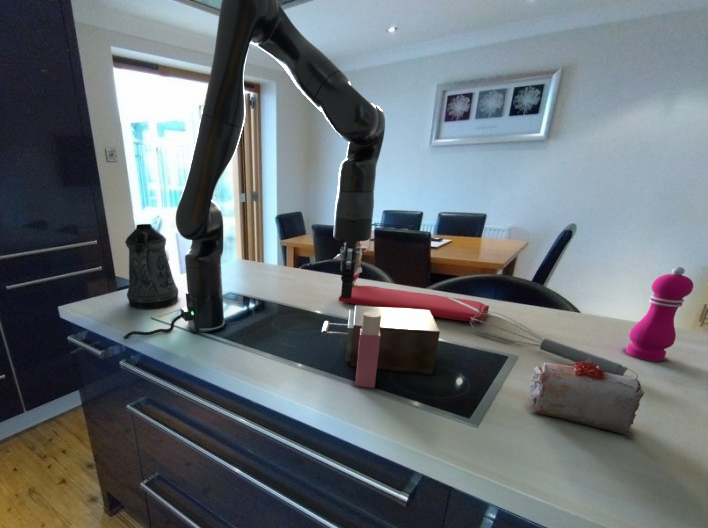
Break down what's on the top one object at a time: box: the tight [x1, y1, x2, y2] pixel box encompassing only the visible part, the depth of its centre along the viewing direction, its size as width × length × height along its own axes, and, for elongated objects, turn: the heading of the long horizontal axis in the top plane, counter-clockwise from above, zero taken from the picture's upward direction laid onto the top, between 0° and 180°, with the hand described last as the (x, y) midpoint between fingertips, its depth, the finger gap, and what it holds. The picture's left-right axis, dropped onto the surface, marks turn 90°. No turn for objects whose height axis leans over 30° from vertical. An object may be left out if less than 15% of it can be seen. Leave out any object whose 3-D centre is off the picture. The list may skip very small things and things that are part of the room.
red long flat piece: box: [338, 285, 490, 323], centre depth 120 cm, size 16×41×4 cm, turn 54°
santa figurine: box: [333, 241, 370, 288], centre depth 136 cm, size 25×6×19 cm, turn 140°
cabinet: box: [349, 305, 441, 375], centre depth 86 cm, size 17×14×10 cm
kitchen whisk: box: [469, 310, 639, 380], centre depth 88 cm, size 6×34×6 cm, turn 33°
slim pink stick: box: [355, 311, 381, 389], centre depth 74 cm, size 4×3×15 cm
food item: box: [529, 359, 645, 436], centre depth 64 cm, size 14×8×10 cm, turn 57°
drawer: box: [320, 309, 355, 362], centre depth 87 cm, size 21×12×8 cm, turn 76°
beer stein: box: [124, 223, 179, 310], centre depth 124 cm, size 16×19×25 cm
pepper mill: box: [625, 266, 694, 362], centre depth 83 cm, size 7×7×20 cm
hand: (346, 297), depth 85 cm, fingers closed
